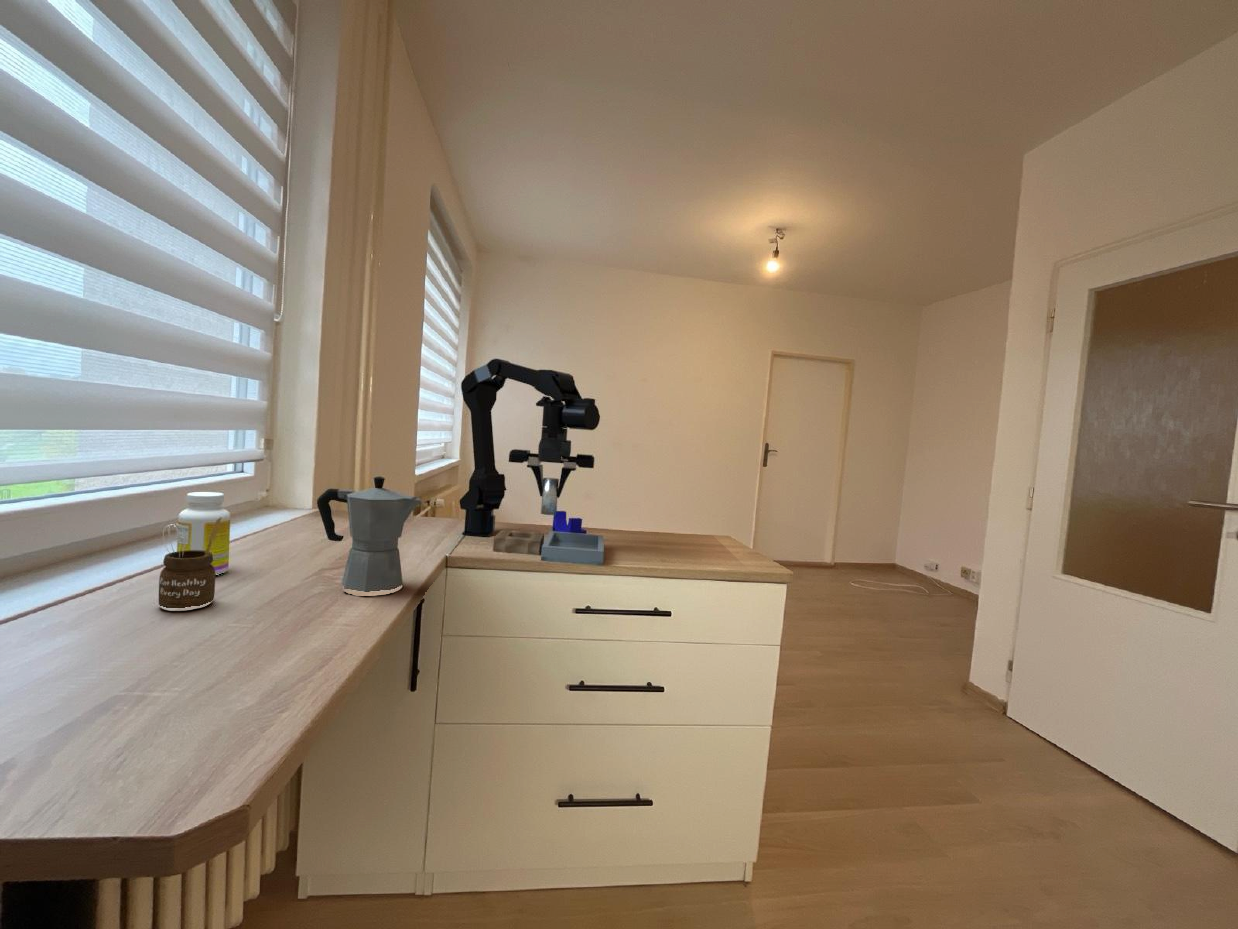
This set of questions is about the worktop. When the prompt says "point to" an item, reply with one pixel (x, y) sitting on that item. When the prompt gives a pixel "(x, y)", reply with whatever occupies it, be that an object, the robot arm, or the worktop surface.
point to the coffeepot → (370, 534)
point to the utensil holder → (187, 575)
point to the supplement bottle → (205, 527)
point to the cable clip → (561, 523)
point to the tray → (573, 548)
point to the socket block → (518, 542)
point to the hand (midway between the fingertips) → (549, 496)
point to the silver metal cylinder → (549, 496)
